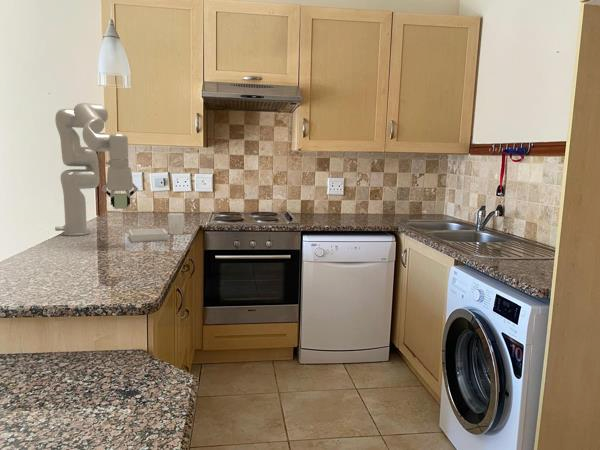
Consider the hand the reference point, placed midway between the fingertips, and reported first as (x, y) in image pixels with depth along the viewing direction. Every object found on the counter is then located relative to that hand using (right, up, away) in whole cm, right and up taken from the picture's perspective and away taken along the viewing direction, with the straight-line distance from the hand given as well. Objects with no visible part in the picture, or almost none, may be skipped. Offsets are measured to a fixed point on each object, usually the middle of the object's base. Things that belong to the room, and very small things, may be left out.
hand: (120, 206), depth 208 cm
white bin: (+5, -15, +20) cm, 26 cm away
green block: (0, -1, 0) cm, 1 cm away
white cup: (+15, -13, +36) cm, 41 cm away
